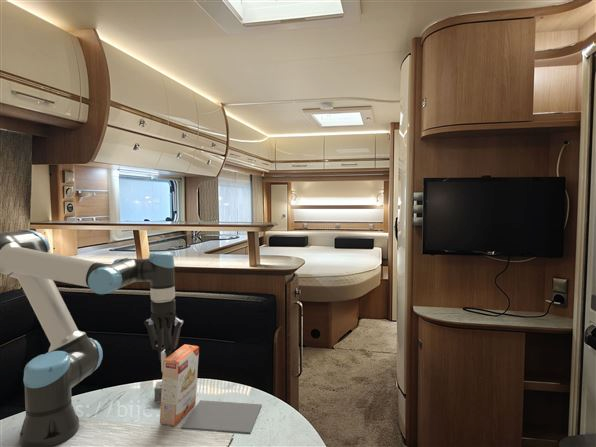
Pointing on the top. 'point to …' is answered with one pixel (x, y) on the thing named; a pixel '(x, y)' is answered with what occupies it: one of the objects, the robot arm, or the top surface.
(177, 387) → the cracker box
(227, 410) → the mat
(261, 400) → the top surface
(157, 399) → the dice cube
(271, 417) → the top surface
